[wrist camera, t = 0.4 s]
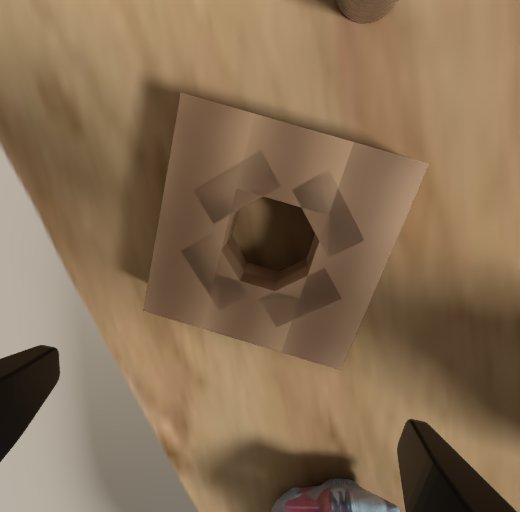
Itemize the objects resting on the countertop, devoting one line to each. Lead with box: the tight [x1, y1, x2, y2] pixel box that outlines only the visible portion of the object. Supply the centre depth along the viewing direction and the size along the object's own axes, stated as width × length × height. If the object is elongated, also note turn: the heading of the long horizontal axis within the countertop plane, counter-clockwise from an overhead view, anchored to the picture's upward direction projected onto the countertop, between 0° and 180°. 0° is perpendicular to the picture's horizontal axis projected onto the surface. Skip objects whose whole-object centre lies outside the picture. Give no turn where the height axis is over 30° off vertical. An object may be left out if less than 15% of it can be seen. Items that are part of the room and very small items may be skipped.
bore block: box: [143, 93, 429, 370], centre depth 20 cm, size 12×12×3 cm
